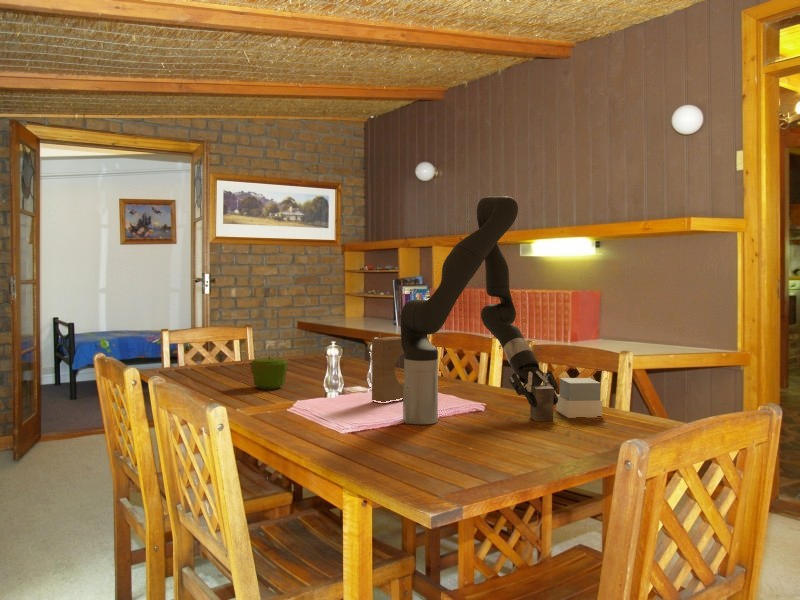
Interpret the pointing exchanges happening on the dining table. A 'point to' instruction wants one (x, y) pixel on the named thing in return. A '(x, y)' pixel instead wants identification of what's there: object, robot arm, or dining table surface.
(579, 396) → the tower top
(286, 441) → the dining table surface
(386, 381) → the decorative block
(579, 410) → the tower base
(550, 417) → the oak pillar
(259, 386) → the apple
